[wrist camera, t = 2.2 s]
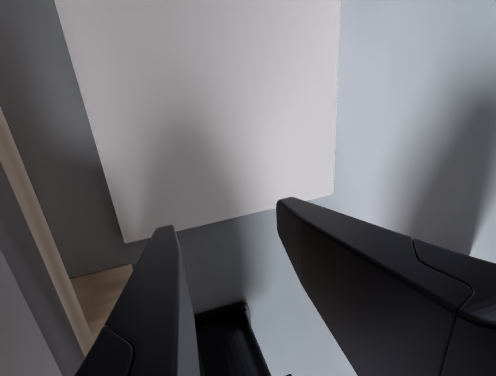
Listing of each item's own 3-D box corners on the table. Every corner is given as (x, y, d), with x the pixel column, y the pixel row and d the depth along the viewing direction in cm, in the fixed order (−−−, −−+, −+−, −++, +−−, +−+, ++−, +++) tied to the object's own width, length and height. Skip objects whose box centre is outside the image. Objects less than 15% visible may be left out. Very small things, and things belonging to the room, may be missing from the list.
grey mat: (341, -200, 17) (348, -206, 16) (329, 190, 26) (333, 194, 26) (-6, -211, 14) (-10, -220, 13) (124, 238, 23) (124, 243, 23)
